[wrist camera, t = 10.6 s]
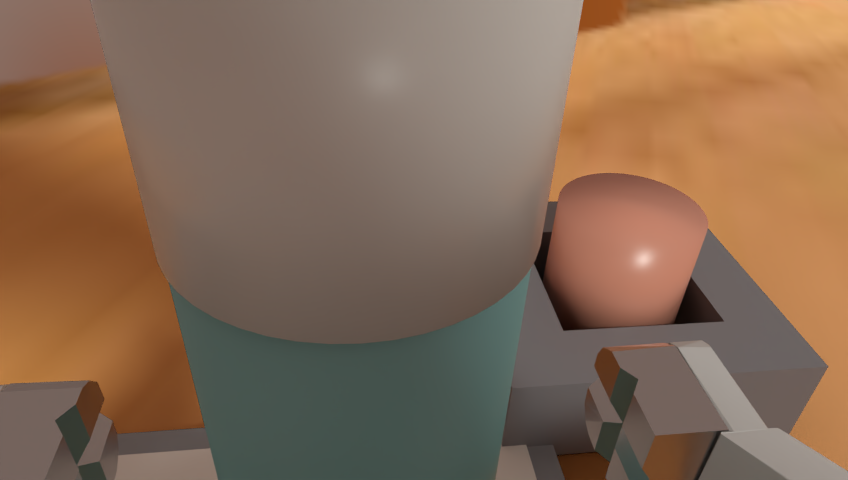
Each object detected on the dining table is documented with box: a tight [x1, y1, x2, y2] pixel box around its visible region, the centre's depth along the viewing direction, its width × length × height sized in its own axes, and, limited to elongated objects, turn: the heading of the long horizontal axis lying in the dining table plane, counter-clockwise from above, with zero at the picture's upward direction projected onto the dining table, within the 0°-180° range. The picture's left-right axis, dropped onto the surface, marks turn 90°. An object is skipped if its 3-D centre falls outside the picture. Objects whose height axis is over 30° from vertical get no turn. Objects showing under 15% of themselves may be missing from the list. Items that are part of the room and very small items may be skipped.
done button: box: [542, 173, 708, 331], centre depth 20 cm, size 4×4×4 cm
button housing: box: [501, 202, 828, 455], centre depth 22 cm, size 9×9×3 cm
